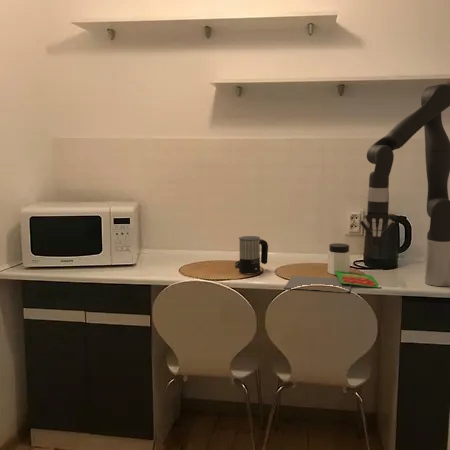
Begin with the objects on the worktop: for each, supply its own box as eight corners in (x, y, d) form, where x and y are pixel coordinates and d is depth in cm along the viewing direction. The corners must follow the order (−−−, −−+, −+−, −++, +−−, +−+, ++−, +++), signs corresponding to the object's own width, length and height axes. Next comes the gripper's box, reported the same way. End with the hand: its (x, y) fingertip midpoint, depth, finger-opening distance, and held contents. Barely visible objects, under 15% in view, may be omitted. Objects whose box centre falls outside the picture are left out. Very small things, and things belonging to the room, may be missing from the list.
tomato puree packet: (341, 281, 221) (334, 270, 240) (340, 284, 221) (334, 272, 241) (382, 286, 220) (372, 274, 240) (381, 289, 220) (371, 277, 240)
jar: (328, 275, 241) (328, 246, 240) (327, 270, 249) (327, 243, 248) (350, 275, 240) (351, 247, 238) (348, 271, 248) (349, 243, 246)
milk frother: (252, 275, 241) (252, 240, 239) (221, 270, 251) (221, 236, 249) (270, 269, 253) (271, 235, 250) (241, 264, 262) (241, 232, 260)
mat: (352, 280, 232) (352, 279, 232) (349, 293, 213) (349, 291, 213) (292, 276, 238) (292, 275, 238) (284, 289, 219) (284, 287, 219)
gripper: (396, 199, 217) (394, 245, 220) (360, 198, 221) (358, 243, 223) (397, 201, 210) (395, 248, 213) (359, 200, 214) (357, 247, 216)
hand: (376, 246), depth 218 cm, fingers closed
